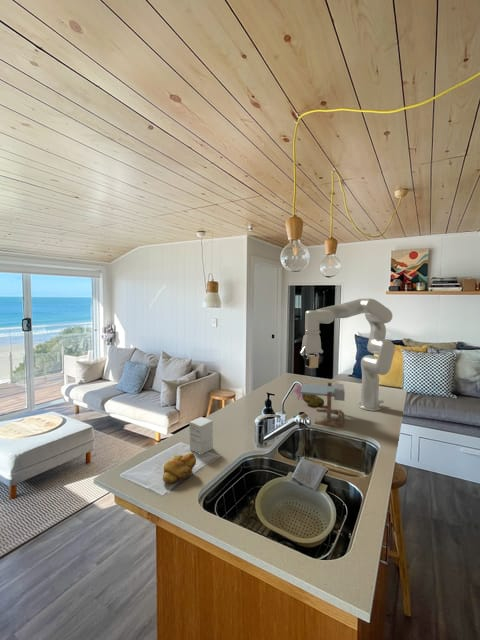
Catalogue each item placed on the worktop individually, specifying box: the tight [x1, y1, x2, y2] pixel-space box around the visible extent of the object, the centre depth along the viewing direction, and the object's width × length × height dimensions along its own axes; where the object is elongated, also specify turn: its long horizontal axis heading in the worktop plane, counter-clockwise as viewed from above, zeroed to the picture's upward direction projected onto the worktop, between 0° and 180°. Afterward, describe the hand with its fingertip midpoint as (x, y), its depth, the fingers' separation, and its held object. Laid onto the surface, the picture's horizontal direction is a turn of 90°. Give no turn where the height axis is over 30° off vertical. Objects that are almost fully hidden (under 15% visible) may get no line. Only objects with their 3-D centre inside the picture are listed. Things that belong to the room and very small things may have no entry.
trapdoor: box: [300, 383, 346, 402], centre depth 170 cm, size 22×16×4 cm
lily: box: [291, 381, 308, 401], centre depth 202 cm, size 12×12×10 cm
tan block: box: [305, 354, 319, 369], centre depth 170 cm, size 5×5×6 cm
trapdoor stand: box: [314, 382, 344, 428], centre depth 169 cm, size 14×22×17 cm, turn 163°
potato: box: [301, 394, 325, 407], centre depth 189 cm, size 8×13×8 cm, turn 49°
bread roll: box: [162, 452, 197, 485], centre depth 113 cm, size 13×10×8 cm
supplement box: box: [189, 416, 214, 455], centre depth 133 cm, size 7×7×13 cm
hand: (311, 365), depth 171 cm, fingers closed on tan block, 5 cm apart
